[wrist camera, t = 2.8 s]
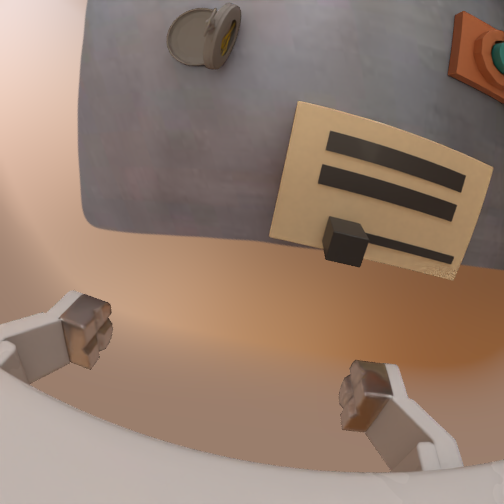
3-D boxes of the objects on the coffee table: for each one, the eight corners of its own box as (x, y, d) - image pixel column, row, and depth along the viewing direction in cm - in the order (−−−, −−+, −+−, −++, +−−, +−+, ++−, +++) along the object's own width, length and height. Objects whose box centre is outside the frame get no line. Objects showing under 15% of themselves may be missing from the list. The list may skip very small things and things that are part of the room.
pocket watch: (164, 22, 27) (120, -3, 18) (240, -2, 26) (219, -41, 17) (180, 87, 30) (138, 79, 21) (259, 65, 29) (244, 44, 19)
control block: (520, 53, 22) (538, 50, 18) (513, 110, 25) (532, 111, 22) (454, 15, 22) (470, 6, 19) (447, 74, 26) (464, 71, 22)
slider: (360, 223, 22) (369, 239, 19) (352, 248, 23) (360, 268, 20) (328, 215, 22) (333, 230, 20) (321, 241, 23) (325, 260, 20)
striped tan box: (440, 149, 29) (494, 167, 19) (413, 235, 33) (453, 283, 23) (296, 106, 30) (298, 100, 20) (276, 201, 34) (268, 239, 24)
